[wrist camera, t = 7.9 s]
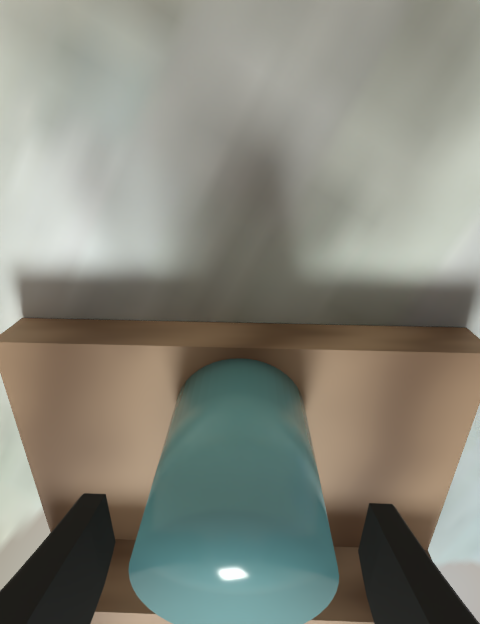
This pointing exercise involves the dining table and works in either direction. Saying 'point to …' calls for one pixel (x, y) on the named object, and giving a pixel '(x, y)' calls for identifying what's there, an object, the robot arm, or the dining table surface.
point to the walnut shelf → (318, 405)
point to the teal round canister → (236, 506)
